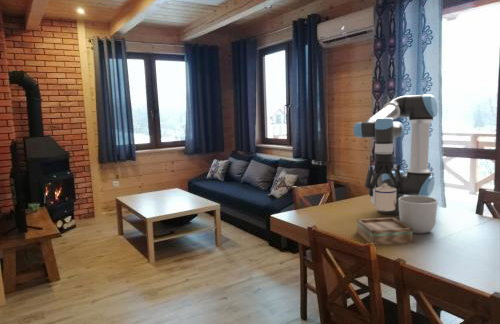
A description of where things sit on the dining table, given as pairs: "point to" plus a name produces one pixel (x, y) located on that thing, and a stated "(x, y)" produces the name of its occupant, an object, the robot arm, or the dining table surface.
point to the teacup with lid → (385, 198)
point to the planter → (418, 212)
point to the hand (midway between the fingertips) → (383, 202)
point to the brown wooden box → (384, 231)
